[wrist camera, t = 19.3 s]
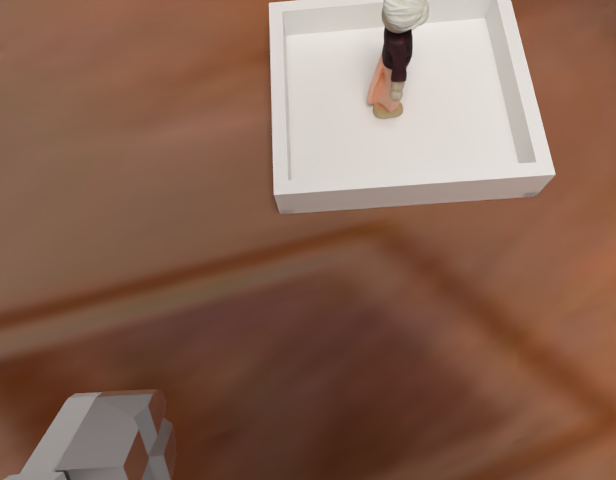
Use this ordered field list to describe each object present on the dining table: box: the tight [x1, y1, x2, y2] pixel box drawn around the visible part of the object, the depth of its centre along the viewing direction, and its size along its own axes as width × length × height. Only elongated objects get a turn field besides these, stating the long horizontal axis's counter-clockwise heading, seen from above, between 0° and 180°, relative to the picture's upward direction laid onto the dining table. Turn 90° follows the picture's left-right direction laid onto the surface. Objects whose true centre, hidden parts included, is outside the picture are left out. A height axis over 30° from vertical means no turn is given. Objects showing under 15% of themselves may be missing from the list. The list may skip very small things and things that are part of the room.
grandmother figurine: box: [367, 0, 430, 119], centre depth 37 cm, size 8×4×13 cm, turn 6°
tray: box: [269, 0, 555, 214], centre depth 42 cm, size 22×20×4 cm
